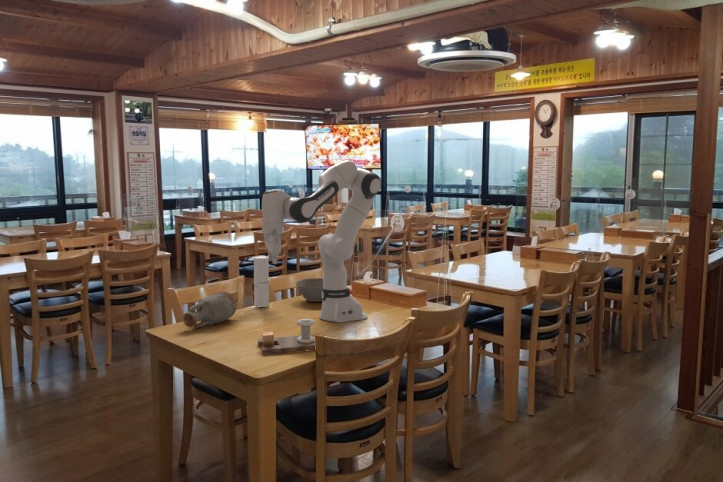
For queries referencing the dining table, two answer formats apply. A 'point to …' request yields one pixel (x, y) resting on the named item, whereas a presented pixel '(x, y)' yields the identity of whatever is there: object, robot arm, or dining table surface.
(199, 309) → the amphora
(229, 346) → the dining table surface
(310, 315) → the dining table surface
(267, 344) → the tan wooden block
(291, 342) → the notched board
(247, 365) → the dining table surface
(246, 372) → the dining table surface
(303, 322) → the bobbin
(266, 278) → the cylindrical container
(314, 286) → the ceramic bowl
